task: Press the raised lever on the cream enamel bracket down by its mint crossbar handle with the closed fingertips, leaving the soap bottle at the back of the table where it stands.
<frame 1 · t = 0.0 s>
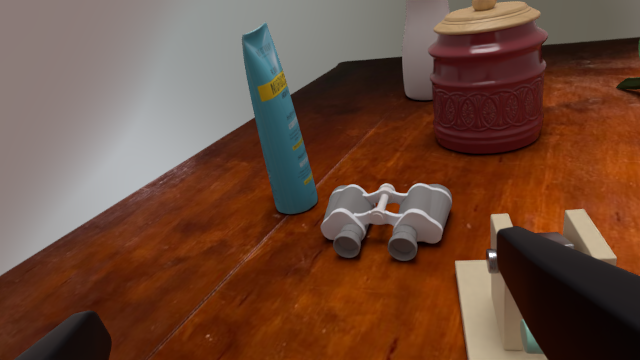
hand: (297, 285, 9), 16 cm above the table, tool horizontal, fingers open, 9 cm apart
binoculars: (384, 234, 38), on the table
toaster bracket: (540, 335, 25), on the table
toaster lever: (569, 286, 19), point 8 cm above the table, hinge at 22.0°
kitchen canister: (485, 136, 53), on the table
soap bottle: (433, 93, 73), on the table
tube: (299, 204, 47), on the table
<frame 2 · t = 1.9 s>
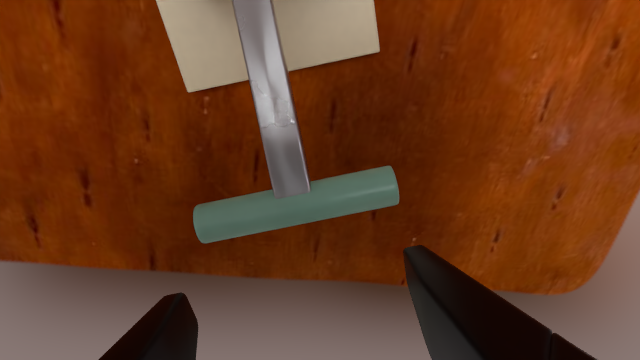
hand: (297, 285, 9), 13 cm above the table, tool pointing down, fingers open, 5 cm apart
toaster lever: (261, 41, 12), point 8 cm above the table, hinge at 22.0°
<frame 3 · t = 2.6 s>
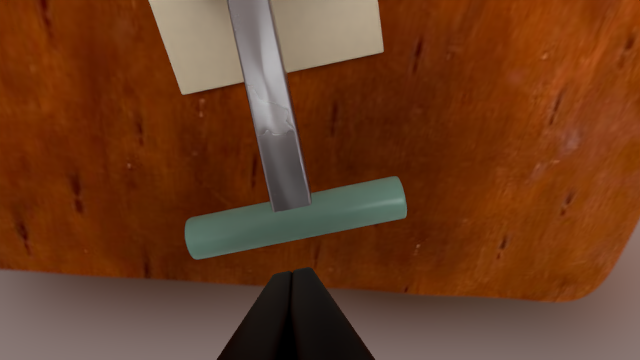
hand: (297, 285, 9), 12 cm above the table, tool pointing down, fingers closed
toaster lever: (258, 42, 11), point 8 cm above the table, hinge at 22.0°
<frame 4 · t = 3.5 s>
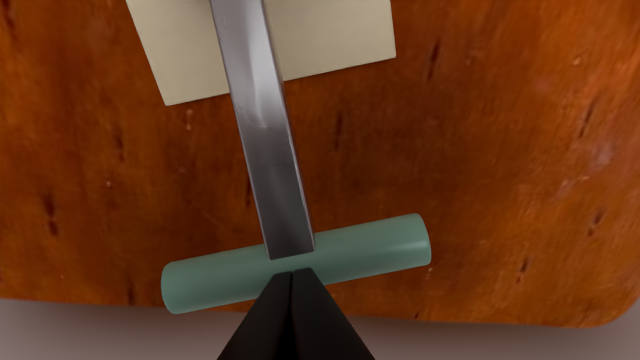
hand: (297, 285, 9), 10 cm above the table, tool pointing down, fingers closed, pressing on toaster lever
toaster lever: (249, 50, 9), point 7 cm above the table, hinge at 20.3°, touching gripper
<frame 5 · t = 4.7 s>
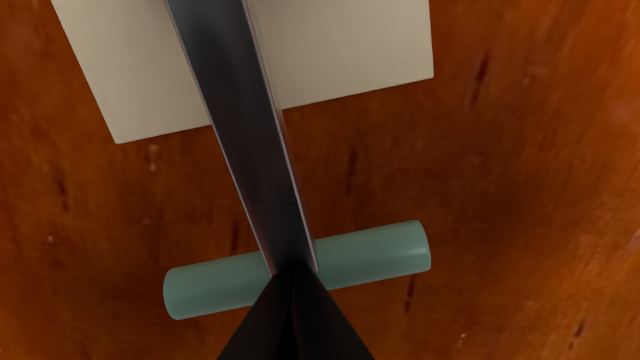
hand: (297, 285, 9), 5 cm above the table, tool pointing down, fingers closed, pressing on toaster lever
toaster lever: (234, 71, 7), point 5 cm above the table, hinge at -9.8°, touching gripper
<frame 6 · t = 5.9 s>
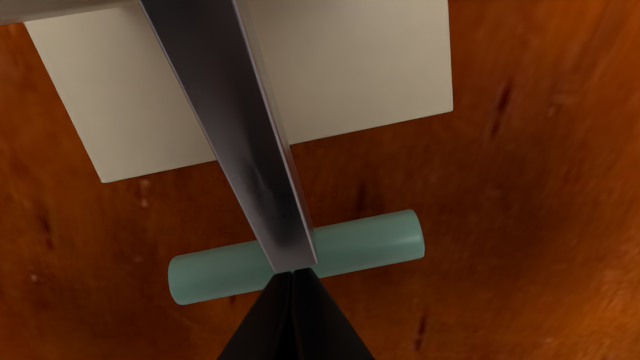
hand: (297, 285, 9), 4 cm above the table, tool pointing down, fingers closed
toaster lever: (234, 96, 6), point 4 cm above the table, hinge at -22.3°
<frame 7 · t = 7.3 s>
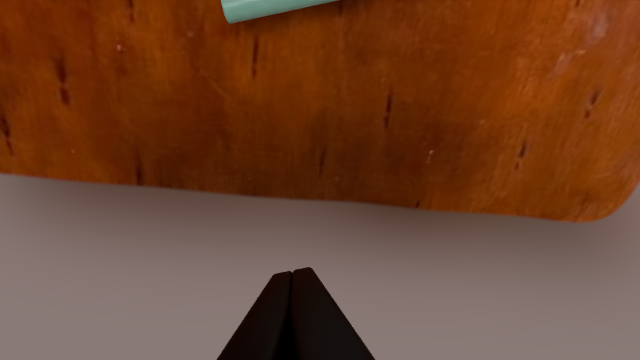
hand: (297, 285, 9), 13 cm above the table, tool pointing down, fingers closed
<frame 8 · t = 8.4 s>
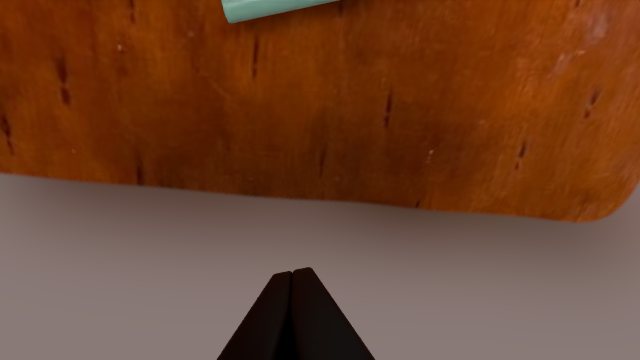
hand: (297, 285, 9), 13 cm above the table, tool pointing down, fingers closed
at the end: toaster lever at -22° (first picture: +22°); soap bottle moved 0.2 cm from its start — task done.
